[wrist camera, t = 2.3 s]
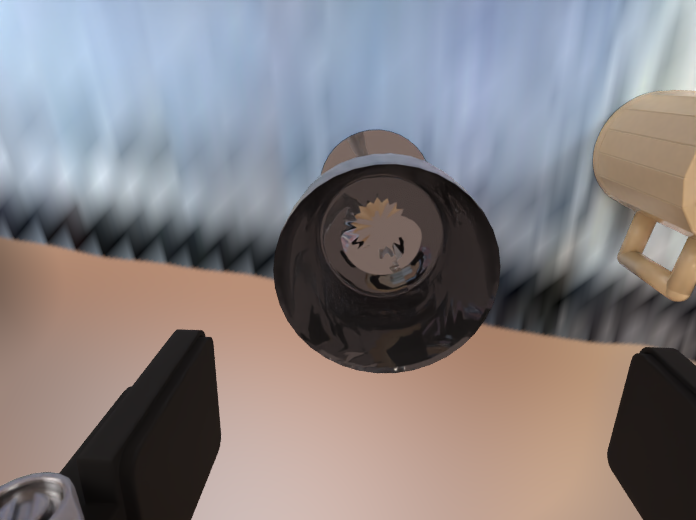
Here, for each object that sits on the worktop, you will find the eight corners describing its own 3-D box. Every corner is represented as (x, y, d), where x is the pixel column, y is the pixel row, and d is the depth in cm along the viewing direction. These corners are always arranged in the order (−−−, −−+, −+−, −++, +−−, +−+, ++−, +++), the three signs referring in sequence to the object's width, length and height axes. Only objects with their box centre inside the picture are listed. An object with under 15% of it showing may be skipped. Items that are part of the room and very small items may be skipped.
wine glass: (456, 214, 31) (533, 324, 17) (347, 263, 33) (336, 402, 19) (406, 99, 29) (448, 118, 15) (291, 158, 30) (229, 227, 16)
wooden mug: (619, 79, 28) (729, 78, 20) (731, 104, 28) (887, 115, 20) (556, 243, 32) (626, 302, 23) (657, 264, 32) (761, 329, 24)
